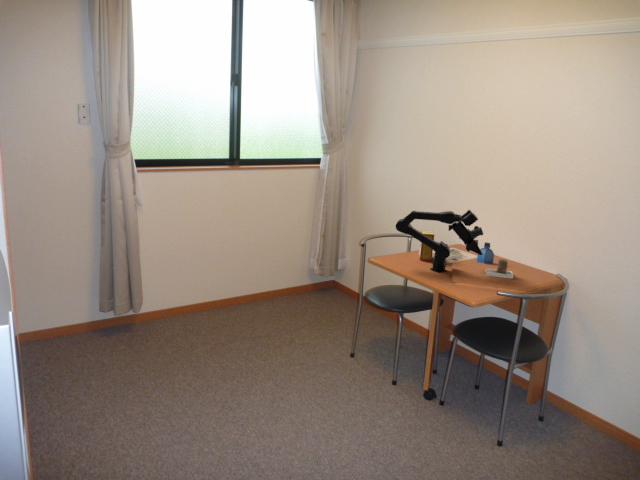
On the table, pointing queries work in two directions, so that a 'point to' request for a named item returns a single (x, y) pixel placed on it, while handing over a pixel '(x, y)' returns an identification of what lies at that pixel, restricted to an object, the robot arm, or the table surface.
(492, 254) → the perfume bottle
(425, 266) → the table surface
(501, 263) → the block
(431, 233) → the baking soda box
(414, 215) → the robot arm
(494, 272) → the trap track
